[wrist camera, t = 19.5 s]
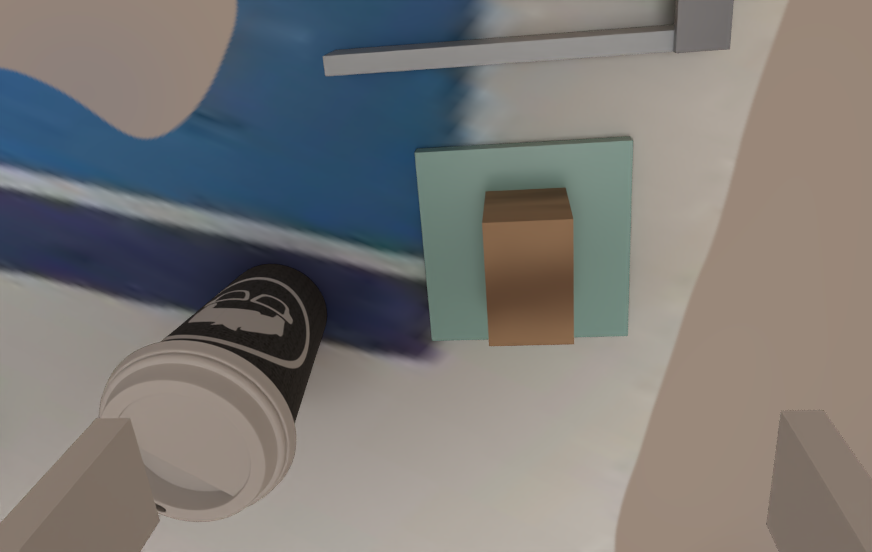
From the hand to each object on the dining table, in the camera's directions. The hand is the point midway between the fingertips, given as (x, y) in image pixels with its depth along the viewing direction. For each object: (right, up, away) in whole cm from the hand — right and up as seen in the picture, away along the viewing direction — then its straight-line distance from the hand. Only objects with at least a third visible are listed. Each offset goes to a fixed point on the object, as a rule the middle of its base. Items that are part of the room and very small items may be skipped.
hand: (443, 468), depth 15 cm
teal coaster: (+5, +6, +28) cm, 29 cm away
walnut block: (+5, +6, +27) cm, 28 cm away
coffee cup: (-10, +2, +32) cm, 34 cm away
